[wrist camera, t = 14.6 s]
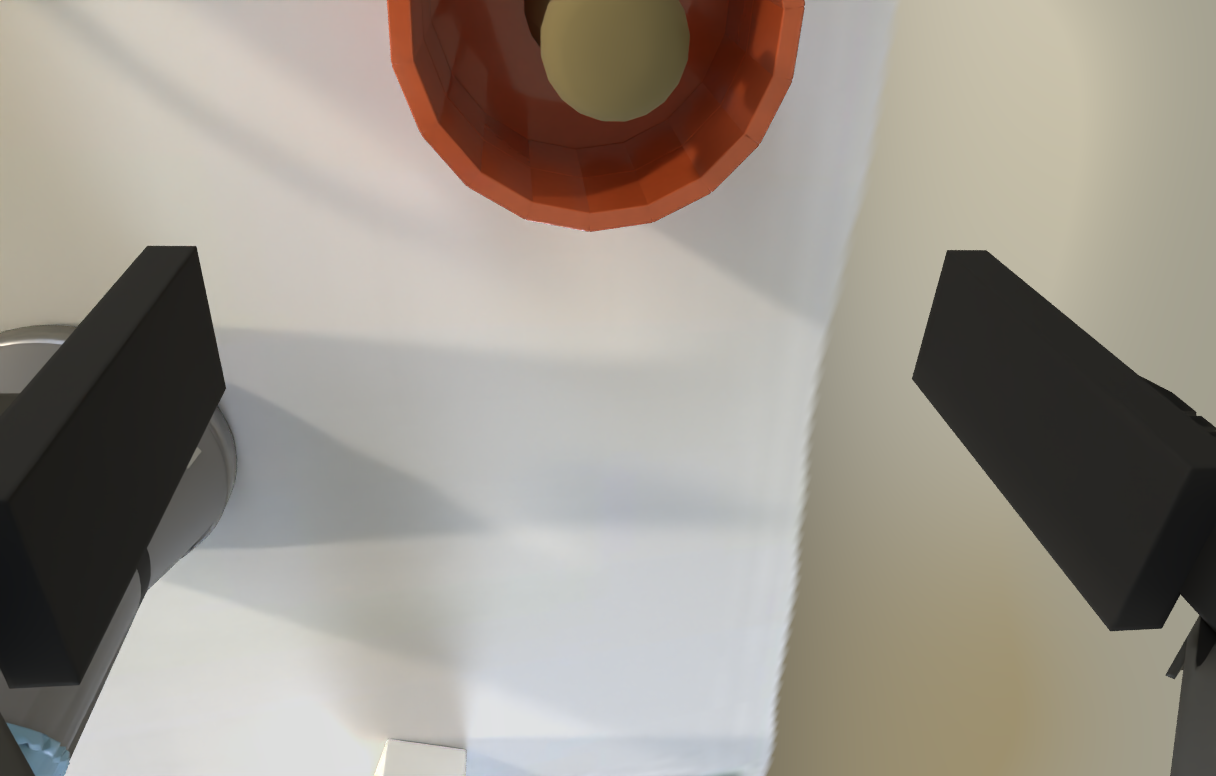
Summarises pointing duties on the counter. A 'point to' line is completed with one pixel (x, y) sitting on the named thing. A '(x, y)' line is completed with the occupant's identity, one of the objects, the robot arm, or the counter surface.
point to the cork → (611, 52)
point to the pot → (578, 144)
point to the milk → (420, 760)
